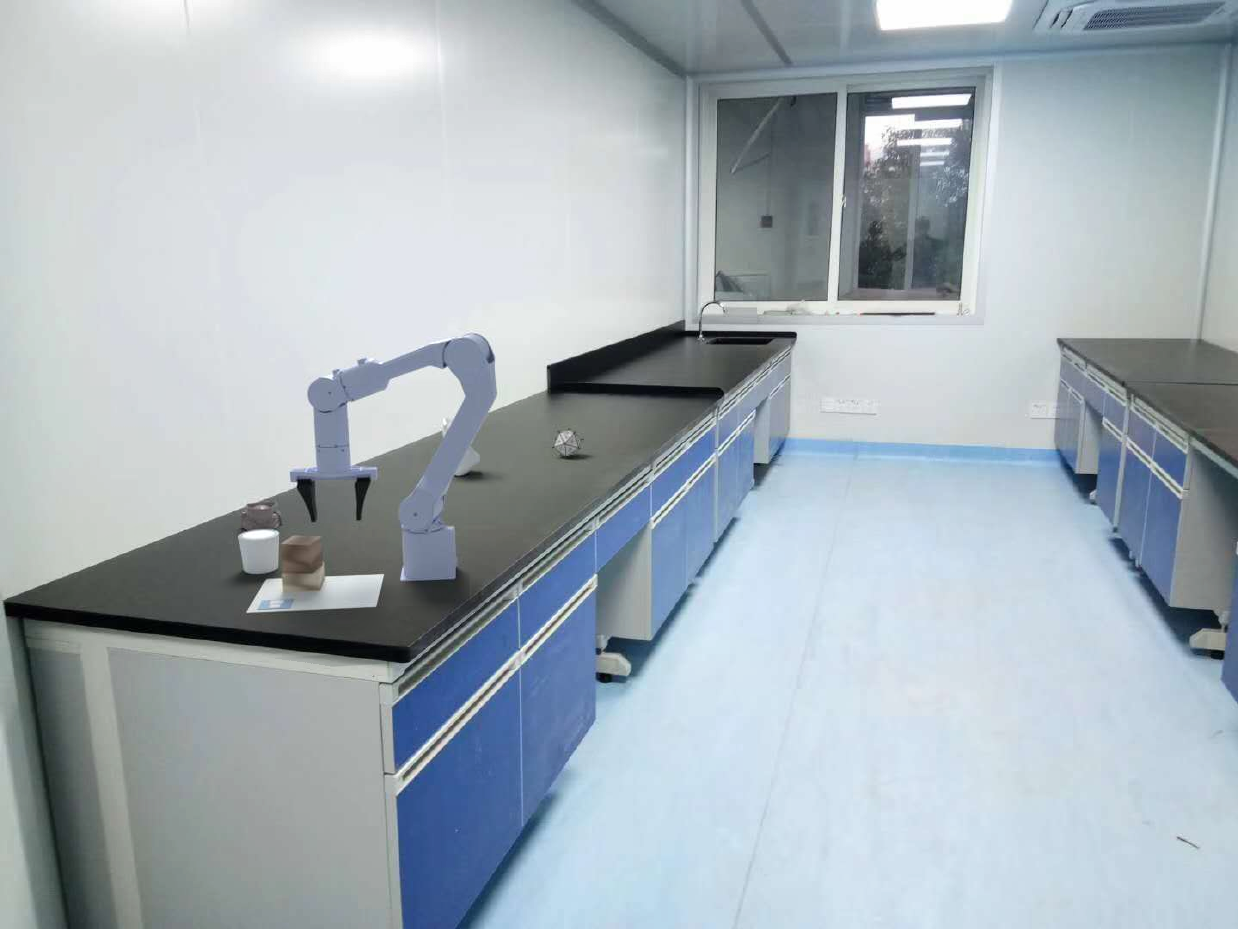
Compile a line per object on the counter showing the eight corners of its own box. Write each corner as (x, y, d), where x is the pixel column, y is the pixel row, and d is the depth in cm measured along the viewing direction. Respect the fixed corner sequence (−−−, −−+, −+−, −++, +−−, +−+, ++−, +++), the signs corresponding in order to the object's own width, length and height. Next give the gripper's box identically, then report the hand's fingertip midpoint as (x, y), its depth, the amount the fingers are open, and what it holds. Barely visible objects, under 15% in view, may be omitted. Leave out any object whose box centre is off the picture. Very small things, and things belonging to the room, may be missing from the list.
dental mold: (239, 534, 193) (237, 510, 192) (242, 525, 200) (241, 502, 199) (281, 531, 196) (279, 508, 195) (283, 522, 202) (281, 499, 201)
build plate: (384, 576, 169) (384, 573, 169) (376, 609, 153) (376, 605, 153) (266, 581, 166) (266, 578, 166) (246, 615, 150) (245, 611, 150)
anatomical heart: (483, 471, 251) (482, 414, 248) (472, 480, 240) (471, 422, 237) (447, 469, 252) (445, 413, 249) (435, 479, 241) (433, 421, 238)
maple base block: (324, 578, 166) (324, 562, 166) (320, 590, 160) (318, 573, 160) (289, 579, 165) (288, 563, 165) (282, 591, 159) (281, 574, 159)
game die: (574, 470, 269) (591, 445, 264) (547, 462, 266) (563, 436, 260) (571, 449, 276) (587, 425, 271) (544, 441, 272) (560, 416, 267)
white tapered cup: (286, 565, 175) (284, 528, 173) (274, 577, 168) (271, 539, 166) (248, 565, 174) (245, 528, 173) (235, 577, 168) (232, 539, 166)
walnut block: (323, 564, 164) (321, 536, 163) (311, 573, 159) (309, 545, 158) (295, 563, 165) (293, 535, 164) (282, 572, 160) (280, 544, 159)
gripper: (377, 439, 170) (380, 512, 173) (293, 441, 168) (297, 515, 171) (373, 447, 164) (377, 523, 166) (285, 449, 161) (291, 526, 164)
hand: (336, 520), depth 168 cm, fingers open, 7 cm apart
